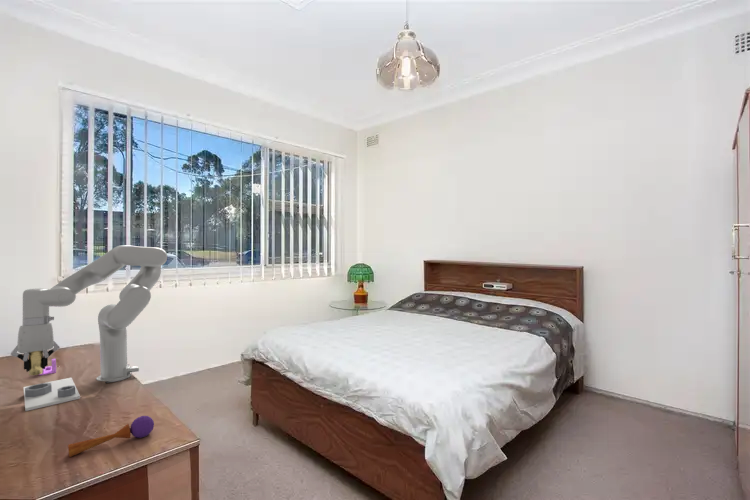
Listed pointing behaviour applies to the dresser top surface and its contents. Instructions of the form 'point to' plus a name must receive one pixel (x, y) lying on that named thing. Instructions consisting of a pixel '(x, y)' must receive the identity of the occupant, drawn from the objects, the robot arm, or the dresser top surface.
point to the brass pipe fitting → (35, 362)
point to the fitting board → (50, 393)
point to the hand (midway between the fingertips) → (35, 369)
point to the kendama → (116, 435)
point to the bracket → (50, 368)
